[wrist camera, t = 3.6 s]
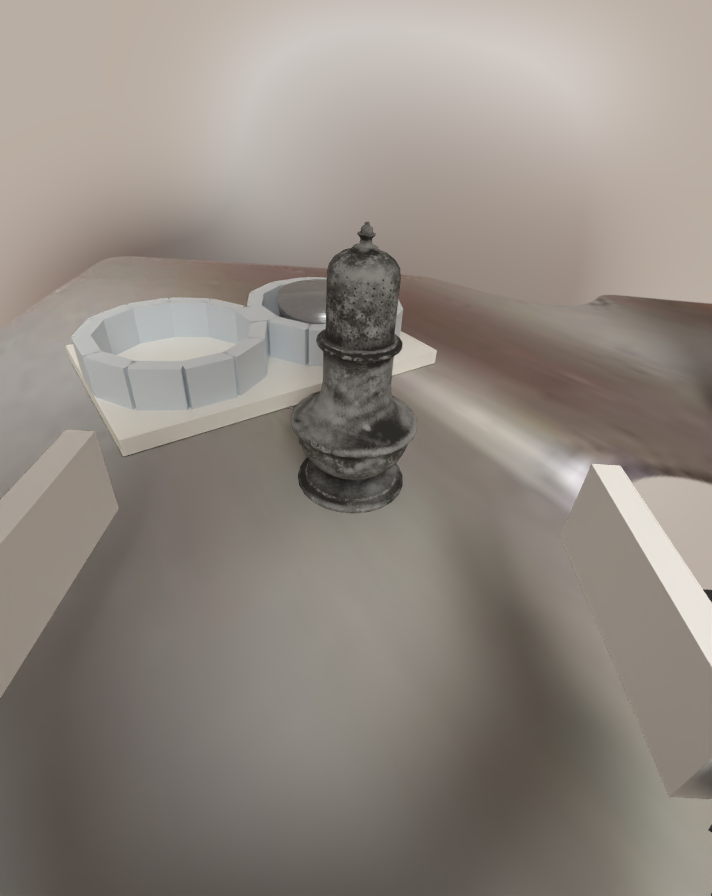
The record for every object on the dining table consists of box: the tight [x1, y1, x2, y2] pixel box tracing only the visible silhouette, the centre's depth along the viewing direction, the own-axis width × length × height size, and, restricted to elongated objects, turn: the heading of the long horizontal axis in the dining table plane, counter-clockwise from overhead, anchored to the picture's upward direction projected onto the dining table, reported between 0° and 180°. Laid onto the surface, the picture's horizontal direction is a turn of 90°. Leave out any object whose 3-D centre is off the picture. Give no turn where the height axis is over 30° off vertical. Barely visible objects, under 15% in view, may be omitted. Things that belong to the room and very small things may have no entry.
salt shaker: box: [291, 222, 417, 513], centre depth 21 cm, size 6×6×12 cm
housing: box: [65, 277, 437, 457], centre depth 34 cm, size 22×13×4 cm, turn 126°
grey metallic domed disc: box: [278, 279, 327, 324], centre depth 36 cm, size 7×7×3 cm
